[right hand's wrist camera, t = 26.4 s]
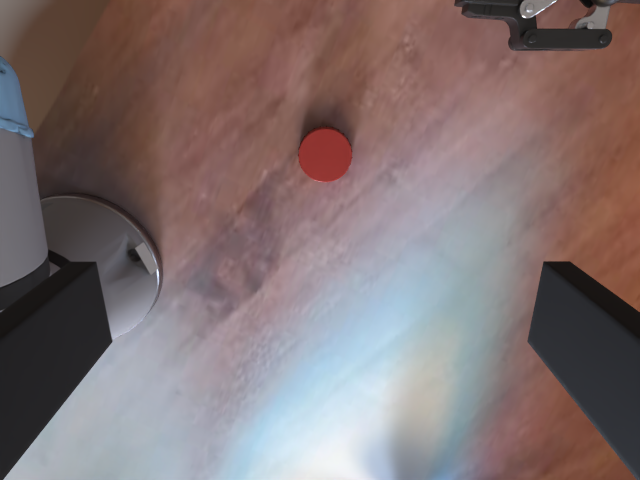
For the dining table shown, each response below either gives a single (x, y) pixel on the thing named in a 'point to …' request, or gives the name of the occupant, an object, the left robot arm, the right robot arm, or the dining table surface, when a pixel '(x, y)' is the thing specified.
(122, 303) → the right robot arm
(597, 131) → the dining table surface
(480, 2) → the left robot arm
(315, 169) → the lid
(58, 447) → the dining table surface
